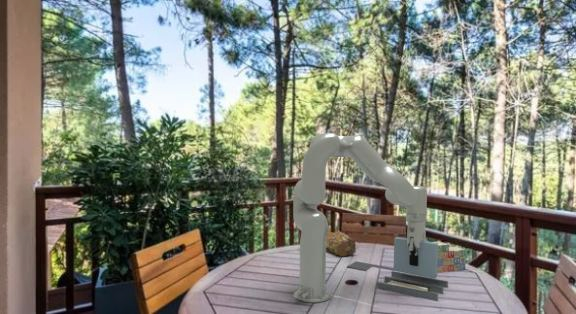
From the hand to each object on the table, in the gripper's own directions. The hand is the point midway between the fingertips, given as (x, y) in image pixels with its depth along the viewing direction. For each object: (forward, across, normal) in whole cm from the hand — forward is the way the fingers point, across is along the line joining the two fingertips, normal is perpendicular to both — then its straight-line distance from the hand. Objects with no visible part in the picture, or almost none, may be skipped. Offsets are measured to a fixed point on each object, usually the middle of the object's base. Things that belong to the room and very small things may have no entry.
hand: (415, 264), depth 150 cm
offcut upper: (+8, -8, +1) cm, 11 cm away
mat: (+9, +12, +22) cm, 27 cm away
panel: (+4, 0, 0) cm, 4 cm away
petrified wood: (+10, +29, +47) cm, 56 cm away
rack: (+9, -3, 0) cm, 9 cm away
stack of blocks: (+9, +29, -3) cm, 30 cm away
